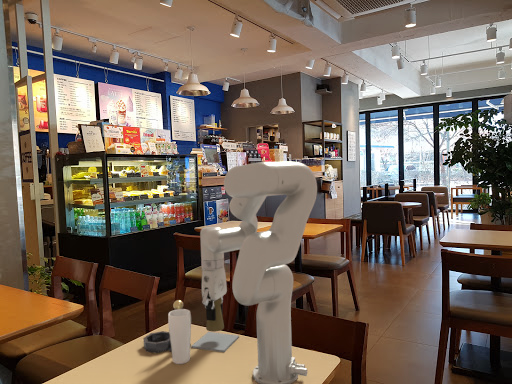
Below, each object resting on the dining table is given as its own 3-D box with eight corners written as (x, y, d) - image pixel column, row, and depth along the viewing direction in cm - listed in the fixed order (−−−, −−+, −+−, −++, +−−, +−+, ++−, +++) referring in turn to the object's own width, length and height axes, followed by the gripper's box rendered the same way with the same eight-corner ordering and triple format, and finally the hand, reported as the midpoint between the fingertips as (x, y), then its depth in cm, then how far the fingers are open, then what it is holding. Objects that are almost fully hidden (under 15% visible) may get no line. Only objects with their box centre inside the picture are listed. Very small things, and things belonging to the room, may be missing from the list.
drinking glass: (187, 366, 116) (185, 317, 116) (166, 365, 118) (164, 316, 117) (195, 356, 123) (193, 309, 122) (175, 355, 124) (173, 308, 124)
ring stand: (194, 343, 132) (192, 296, 131) (178, 356, 123) (176, 305, 122) (155, 338, 138) (153, 293, 137) (138, 350, 129) (136, 301, 128)
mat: (239, 337, 136) (239, 335, 136) (224, 352, 125) (224, 350, 125) (208, 333, 141) (208, 331, 141) (191, 347, 129) (191, 345, 129)
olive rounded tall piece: (227, 327, 133) (226, 295, 132) (214, 333, 128) (212, 300, 128) (216, 323, 137) (214, 292, 136) (202, 328, 133) (201, 296, 132)
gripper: (211, 270, 122) (213, 328, 123) (233, 258, 138) (235, 309, 139) (190, 269, 125) (192, 325, 126) (214, 257, 141) (216, 308, 142)
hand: (214, 316), depth 132 cm, fingers closed on olive rounded tall piece, 4 cm apart
